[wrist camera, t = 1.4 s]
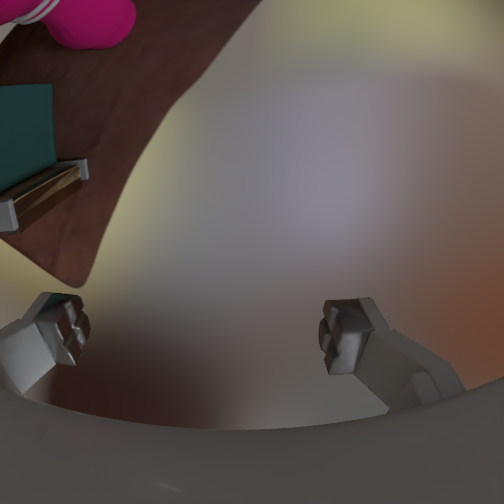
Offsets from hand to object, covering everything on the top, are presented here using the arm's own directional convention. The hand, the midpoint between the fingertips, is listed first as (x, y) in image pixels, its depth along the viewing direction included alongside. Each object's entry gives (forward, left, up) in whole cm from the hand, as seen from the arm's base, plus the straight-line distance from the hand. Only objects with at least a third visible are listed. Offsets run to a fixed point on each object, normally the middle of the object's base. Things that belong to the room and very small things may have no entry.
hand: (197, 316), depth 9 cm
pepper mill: (-16, -12, -22) cm, 29 cm away
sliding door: (0, -18, -20) cm, 27 cm away
